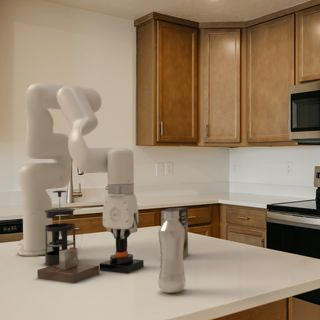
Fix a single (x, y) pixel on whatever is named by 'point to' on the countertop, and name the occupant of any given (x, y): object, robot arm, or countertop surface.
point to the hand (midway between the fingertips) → (121, 251)
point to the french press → (56, 243)
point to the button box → (121, 264)
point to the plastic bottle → (171, 253)
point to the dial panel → (68, 273)
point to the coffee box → (184, 221)
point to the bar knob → (68, 258)
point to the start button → (121, 254)
